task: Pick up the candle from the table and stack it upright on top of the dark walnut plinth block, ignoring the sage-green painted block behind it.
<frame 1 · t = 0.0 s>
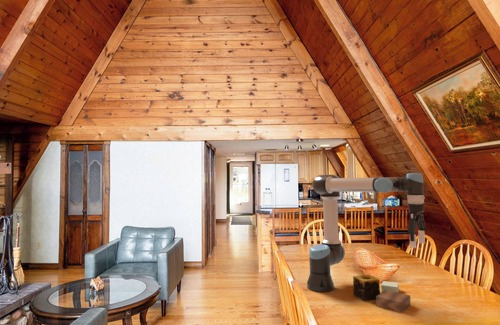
hand: (417, 245, 168), 28 cm above the table, fingers open, 13 cm apart
sage block: (390, 291, 183), on the table
walnut plinth: (393, 306, 162), on the table
candle: (366, 297, 175), on the table
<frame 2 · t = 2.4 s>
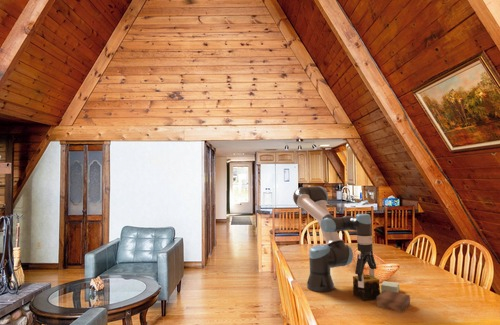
hand: (366, 284, 175), 7 cm above the table, fingers open, 13 cm apart
nothing on the table moved.
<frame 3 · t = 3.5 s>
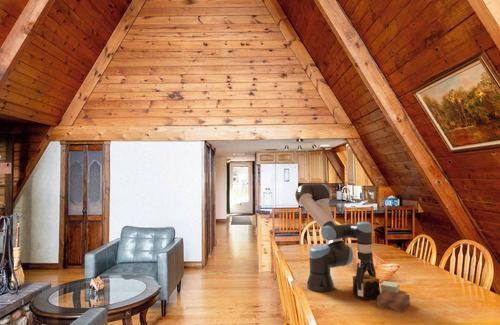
hand: (366, 292, 175), 2 cm above the table, fingers closed on candle, 13 cm apart
candle: (366, 297, 175), on the table, touching gripper
everything else where it was.
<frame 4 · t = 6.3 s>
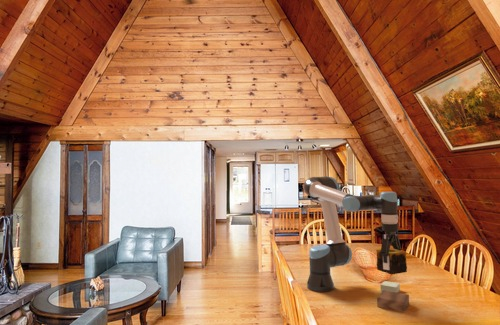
hand: (391, 266, 163), 19 cm above the table, fingers closed on candle, 13 cm apart
candle: (391, 271, 163), point 16 cm above the table, touching gripper
everything else where it was.
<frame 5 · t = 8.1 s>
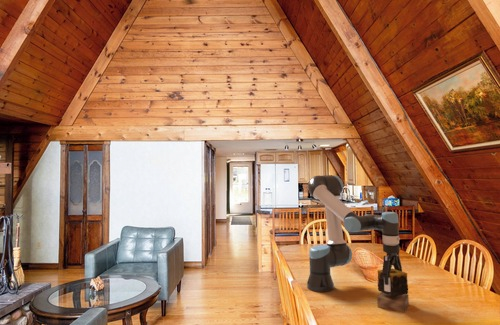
hand: (392, 287, 163), 9 cm above the table, fingers closed on candle, 13 cm apart
candle: (392, 292, 163), point 6 cm above the table, touching gripper
everything else where it was.
when the fingers open (8 cm above the table, at t = 9.3 s): candle drops 1 cm, resting on walnut plinth.
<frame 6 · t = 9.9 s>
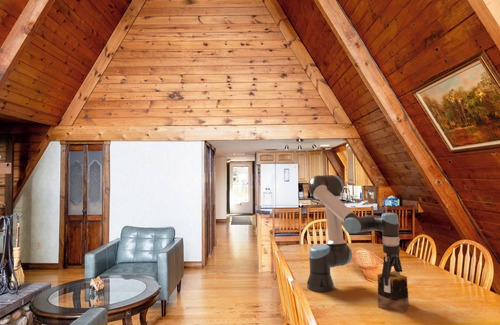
hand: (392, 288, 163), 8 cm above the table, fingers open, 13 cm apart
walnut plinth: (393, 306, 162), on the table, touching candle
candle: (392, 296, 163), point 4 cm above the table, touching walnut plinth
everything else where it was.
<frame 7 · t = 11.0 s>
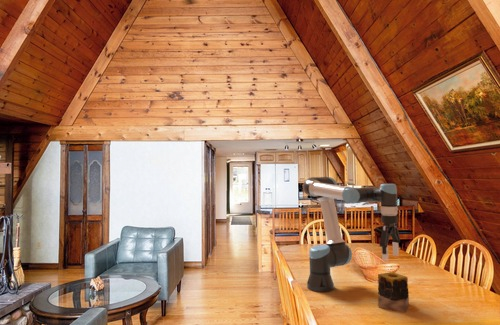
hand: (390, 258, 164), 23 cm above the table, fingers open, 13 cm apart
walnut plinth: (393, 306, 162), on the table
candle: (393, 296, 163), point 4 cm above the table
everything else where it was.
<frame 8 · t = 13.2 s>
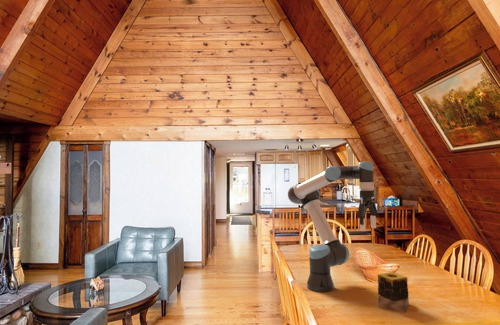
hand: (368, 229, 180), 35 cm above the table, fingers open, 13 cm apart
walnut plinth: (393, 306, 162), on the table, touching candle
candle: (393, 296, 162), point 4 cm above the table, touching walnut plinth
everything else where it was.
at the end: candle inside the target area on the walnut plinth (0.1 cm from its centre), point 4.8 cm above the walnut plinth's base; candle tilted 0°; the gripper is holding nothing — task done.
